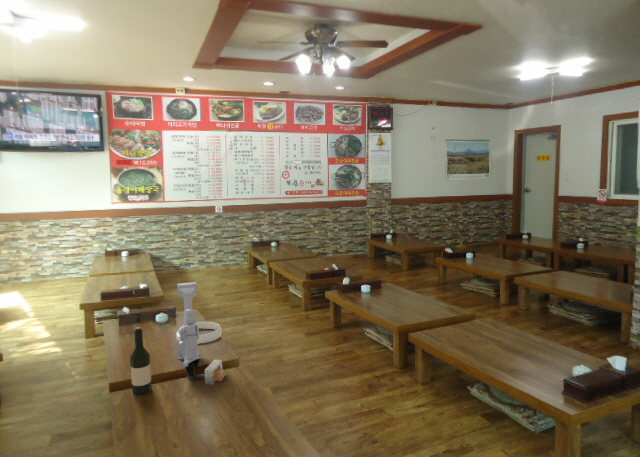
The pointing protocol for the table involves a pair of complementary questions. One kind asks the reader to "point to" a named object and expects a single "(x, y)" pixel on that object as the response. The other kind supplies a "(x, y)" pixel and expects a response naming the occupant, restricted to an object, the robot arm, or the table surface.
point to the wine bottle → (140, 366)
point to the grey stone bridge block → (212, 371)
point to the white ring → (209, 336)
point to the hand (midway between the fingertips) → (192, 374)
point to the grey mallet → (218, 375)
